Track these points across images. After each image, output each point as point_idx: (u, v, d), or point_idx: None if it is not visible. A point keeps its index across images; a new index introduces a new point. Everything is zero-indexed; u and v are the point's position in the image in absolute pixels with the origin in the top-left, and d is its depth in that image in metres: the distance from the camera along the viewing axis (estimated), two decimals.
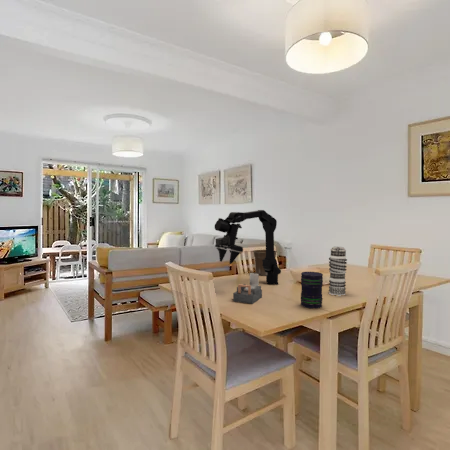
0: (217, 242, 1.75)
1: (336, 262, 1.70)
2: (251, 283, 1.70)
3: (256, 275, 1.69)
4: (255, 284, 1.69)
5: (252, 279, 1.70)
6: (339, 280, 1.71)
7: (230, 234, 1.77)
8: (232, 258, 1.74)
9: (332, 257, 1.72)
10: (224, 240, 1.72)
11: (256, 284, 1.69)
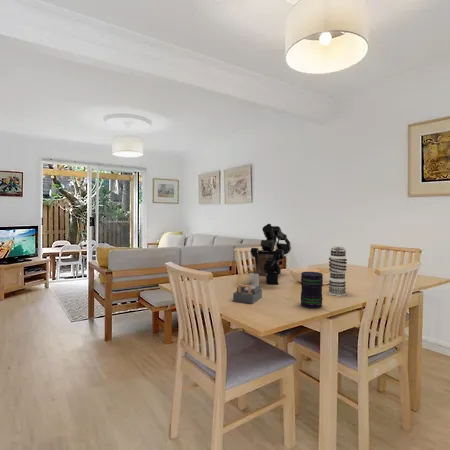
0: (264, 243, 1.84)
1: (336, 262, 1.70)
2: (251, 283, 1.70)
3: (256, 275, 1.69)
4: (255, 284, 1.69)
5: (252, 279, 1.70)
6: (339, 280, 1.71)
7: None
8: (274, 261, 1.83)
9: (332, 257, 1.72)
10: (272, 242, 1.84)
11: (256, 284, 1.69)
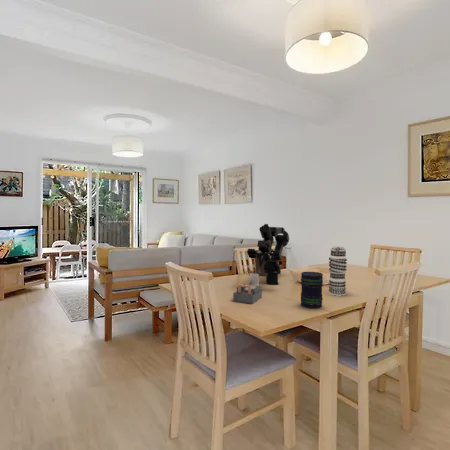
0: (261, 243, 1.79)
1: (336, 262, 1.70)
2: (251, 283, 1.70)
3: (256, 275, 1.69)
4: (255, 284, 1.69)
5: (252, 279, 1.70)
6: (339, 280, 1.71)
7: None
8: (263, 262, 1.79)
9: (332, 257, 1.72)
10: (270, 243, 1.79)
11: (256, 284, 1.69)
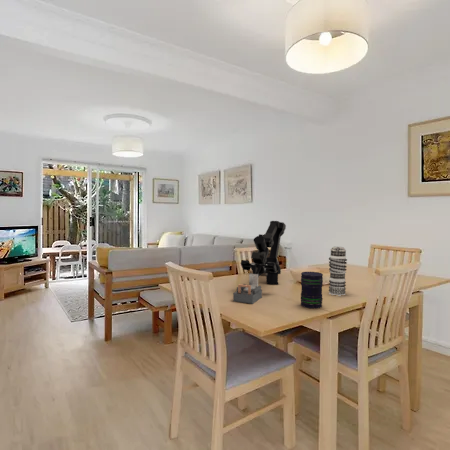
0: (255, 255, 1.71)
1: (336, 262, 1.70)
2: (251, 283, 1.70)
3: (256, 275, 1.68)
4: (255, 284, 1.69)
5: (252, 279, 1.69)
6: (339, 280, 1.71)
7: None
8: (258, 274, 1.71)
9: (332, 257, 1.72)
10: (264, 254, 1.71)
11: (256, 284, 1.68)
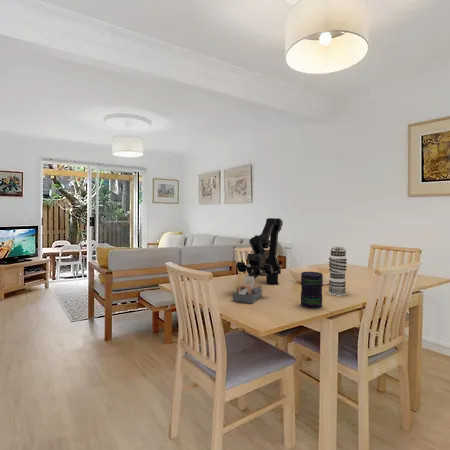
0: (251, 256, 1.65)
1: (336, 262, 1.70)
2: None
3: (251, 277, 1.63)
4: None
5: (247, 281, 1.64)
6: (339, 280, 1.71)
7: None
8: None
9: (332, 257, 1.72)
10: (260, 256, 1.65)
11: (251, 287, 1.63)
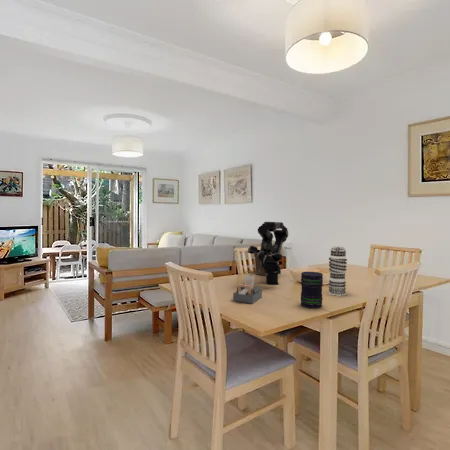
0: (270, 247, 1.77)
1: (336, 262, 1.70)
2: None
3: (251, 277, 1.63)
4: None
5: (247, 282, 1.64)
6: (339, 280, 1.71)
7: (271, 242, 1.85)
8: None
9: (332, 257, 1.72)
10: None
11: (251, 287, 1.63)
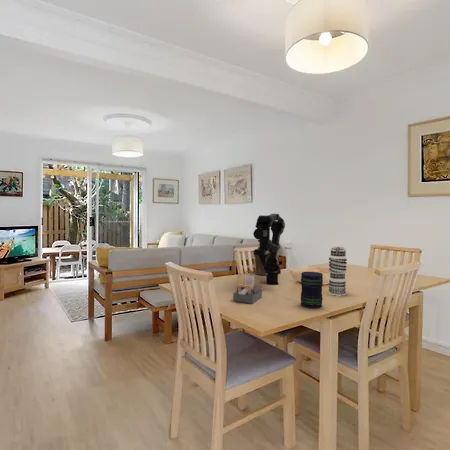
0: (278, 249, 1.80)
1: (336, 262, 1.70)
2: None
3: (251, 277, 1.63)
4: None
5: (247, 282, 1.64)
6: (339, 280, 1.71)
7: None
8: None
9: (332, 257, 1.72)
10: None
11: (251, 287, 1.63)
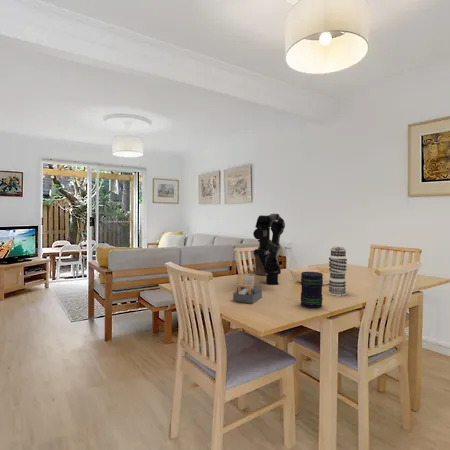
0: (278, 249, 1.80)
1: (336, 262, 1.70)
2: None
3: (251, 277, 1.63)
4: None
5: (247, 282, 1.64)
6: (339, 280, 1.71)
7: None
8: None
9: (332, 257, 1.72)
10: None
11: (251, 287, 1.63)
